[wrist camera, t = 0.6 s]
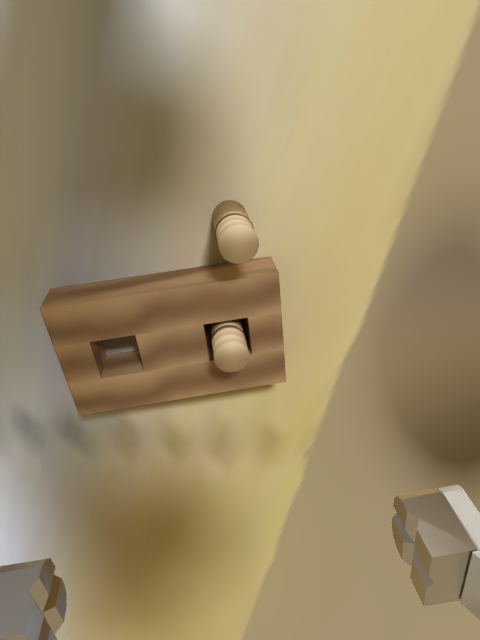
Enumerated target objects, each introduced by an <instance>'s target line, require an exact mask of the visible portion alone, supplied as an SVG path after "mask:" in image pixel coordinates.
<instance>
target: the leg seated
mask: <svg viewBox="0 0 480 640" xmlns="http://www.w3.org/2000/svg"><path fill="white" fill-rule="evenodd" d="M210 332H211V343H212V348H213V354H214V361H215V364H216V366H217V367H218V368H219V369H220V370H222V371H225V372H236V371H239V370H241V369H243V368H244V367H245V366H246V365H247V363H248V361H249V352H248V348H247V344H246V338H245V334H244V332H243V328H242V324H241V320H240V319H235V320H229V321H223V322H216V323H210Z"/></svg>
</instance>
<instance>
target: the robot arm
mask: <svg viewBox="0 0 480 640" xmlns="http://www.w3.org/2000/svg"><path fill="white" fill-rule="evenodd" d="M394 508H395V510H396V512H397V513H396V515H395V516H394V517H393V518H392V531H393V537H394V540H395V544H396V547H397V549H398V552H399V553H400V556H401V558H402V559H403V560H404V561H405V562H407V563H408V564H409V565H411V566H412V567H411V575H410V578H411V580H412V582H413V584H414V587H415V589H416V591H417V593H418V595H419V597H420V599H421V601H422V604H423V606H428V605H434V604H440V603H446V602H452V601H459V600H461V601H460V603H461V604H462V605H464V606H465V607H466V608H467V609H468V610H469V611H470V612H471V613H473V614H474V615H475V616H476V617H477V618H478V619H479V620H480V513H479V512H478V510H477V509H476V507H475V506H474V504H473V503H472V502H471V500H470V499H469V497H468V496H467V494H466V493H465V491H464V490H463V488H461V487H459V485H452V486H447V487H442V488H437V489H436V488H433V489H428V490H422V491H418V492H413V493H407V494H402V495H397V496H396V497H395V498H394ZM54 570H55V565H54V563H53V562H52V560H51V558H49V559H42V560H36V561H30V562H24V563H18V564H12V565H6V566H0V640H57V638H56V636H55V633H56V632H57V630H58V629H59V628H60V626H61V625H62V624H63V622H64V618H65V612H66V590H65V585H64V583H63V581H62V579H61V578H60V577H58V576H56V575H54Z"/></svg>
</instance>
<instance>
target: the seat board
mask: <svg viewBox="0 0 480 640" xmlns="http://www.w3.org/2000/svg"><path fill="white" fill-rule="evenodd" d="M40 311H41V313H42V316H43V319H44V321H45V324H46V327H47V329H48V332H49V335H50V337H51V340H52V343H53V345H54V348H55V351H56V353H57V356H58V359H59V361H60V364H61V367H62V369H63V372H64V375H65V377H66V380H67V383H68V385H69V388H70V391H71V393H72V396H73V399H74V401H75V404H76V407H77V409H78V412H79V415H86V414H92V413H98V412H104V411H110V410H116V409H122V408H128V407H135V406H141V405H147V404H153V403H159V402H165V401H171V400H177V399H184V398H190V397H196V396H202V395H208V394H214V393H220V392H226V391H233V390H239V389H245V388H251V387H257V386H263V385H269V384H275V383H281V382H286V373H285V358H284V344H283V329H282V314H281V300H280V285H279V273H278V271H277V269H276V267H275V265H274V262H273V260H272V258H271V257H264V258H257V259H251V260H249V261H247V262H245V263H241V264H235V263H231V262H230V263H224V264H217V265H210V266H203V267H197V268H190V269H183V270H176V271H170V272H163V273H156V274H149V275H143V276H136V277H129V278H122V279H116V280H109V281H102V282H95V283H89V284H82V285H75V286H68V287H61V288H55V289H50V291H49V293H48V295H47V296H46V298H45V300H44V302H43V304H42V306H41V308H40ZM242 318H245V323H246V332H247V333H246V334H245V338H246V344H247V348H248V352H249V361H248V363H247V365H246V366H245V367H244V368H243V369H241V370H239V371H236V372H225V371H222V370H220V369H219V368H218V367H217V366H216V364H215V361H214V354H213V348H212V343H211V339H208V340H207V337H206V331H205V325H204V324H210V323H216V322H223V321H229V320H235V319H242ZM132 335H135V336H136V340H137V344H138V348H139V350H138V351H131V352H125V353H119V354H112V355H106V353H105V350H104V347H103V344H102V340H106V339H113V338H119V337H126V336H132Z"/></svg>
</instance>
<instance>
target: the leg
mask: <svg viewBox="0 0 480 640" xmlns="http://www.w3.org/2000/svg"><path fill="white" fill-rule="evenodd" d="M212 221H213V226H214V230H215V237H216V240H217V243H218V247H219V251H220V253H221V255H222V257H223V258H224V259H225V260H227V261H228V262H231V263H235V264H241V263H245V262H247V261H249V260H251V259H252V258H253V257H254V256H255V254H256V253H257V250H258V247H259V241H258V237H257V235H256V233H255V231H254V227H253V225H252V223H251V221H250V220H249V218H248V215H247V213H246V211H245V209H244V207H243V206H242V205H241V204H240V203H238V202H236V201H232V200H228V201H224V202H221V203H220V204H218V205H217V206H216V208H215V209H214V211H213V214H212Z"/></svg>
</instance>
